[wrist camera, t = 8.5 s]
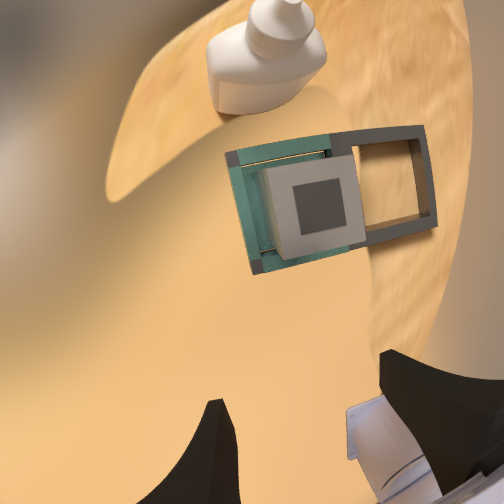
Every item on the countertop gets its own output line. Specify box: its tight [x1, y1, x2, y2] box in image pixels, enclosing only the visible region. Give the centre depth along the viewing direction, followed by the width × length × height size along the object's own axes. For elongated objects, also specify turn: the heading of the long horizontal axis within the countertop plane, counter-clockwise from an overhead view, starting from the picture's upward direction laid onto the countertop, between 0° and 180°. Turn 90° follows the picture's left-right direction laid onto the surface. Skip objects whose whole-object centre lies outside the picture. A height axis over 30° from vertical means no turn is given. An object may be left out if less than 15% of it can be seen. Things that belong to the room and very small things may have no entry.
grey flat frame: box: [224, 125, 438, 275], centre depth 20 cm, size 8×15×2 cm, turn 103°
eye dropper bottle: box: [206, 0, 327, 115], centre depth 13 cm, size 4×6×12 cm
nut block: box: [253, 155, 366, 260], centre depth 17 cm, size 4×4×6 cm
